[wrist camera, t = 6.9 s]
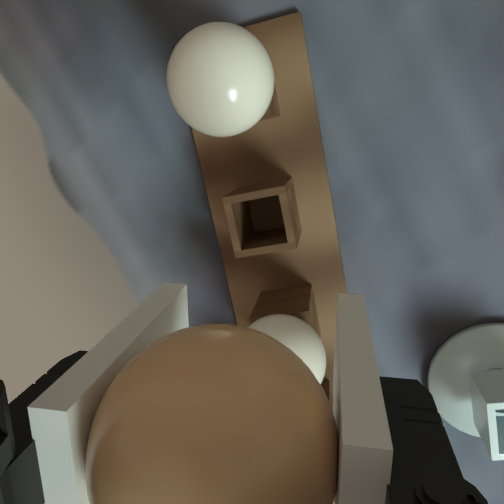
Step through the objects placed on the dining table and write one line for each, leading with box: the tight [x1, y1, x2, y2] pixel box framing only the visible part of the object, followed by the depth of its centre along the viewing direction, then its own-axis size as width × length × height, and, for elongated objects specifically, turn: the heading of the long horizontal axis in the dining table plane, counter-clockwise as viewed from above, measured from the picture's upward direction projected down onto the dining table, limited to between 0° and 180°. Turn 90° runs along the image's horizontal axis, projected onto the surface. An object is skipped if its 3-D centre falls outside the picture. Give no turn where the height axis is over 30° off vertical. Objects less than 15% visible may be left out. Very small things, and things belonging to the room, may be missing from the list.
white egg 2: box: [248, 314, 326, 385], centre depth 23 cm, size 5×5×5 cm
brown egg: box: [85, 323, 339, 504], centre depth 9 cm, size 5×5×5 cm
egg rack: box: [173, 11, 347, 412], centre depth 26 cm, size 28×8×5 cm, turn 12°
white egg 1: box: [167, 22, 274, 137], centre depth 19 cm, size 5×5×5 cm
